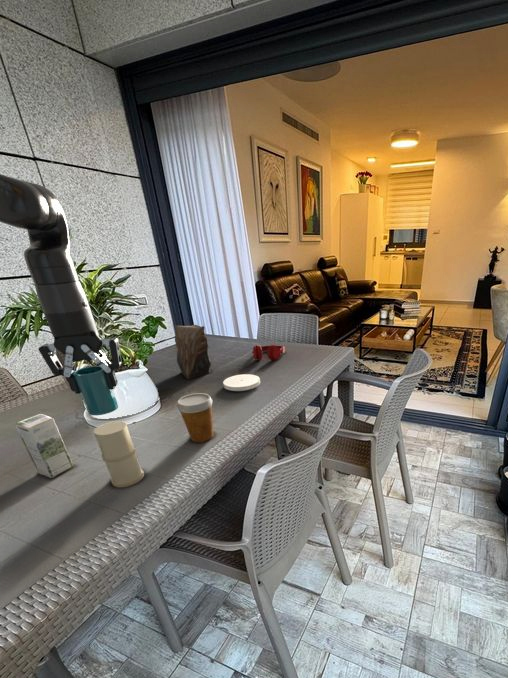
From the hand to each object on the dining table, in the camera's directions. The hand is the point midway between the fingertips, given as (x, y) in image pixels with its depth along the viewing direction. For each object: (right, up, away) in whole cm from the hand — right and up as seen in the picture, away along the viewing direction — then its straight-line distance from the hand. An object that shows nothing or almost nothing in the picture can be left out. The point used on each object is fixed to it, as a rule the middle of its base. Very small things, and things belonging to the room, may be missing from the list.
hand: (96, 390), depth 75 cm
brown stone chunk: (-7, +15, +78) cm, 79 cm away
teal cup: (0, -4, +2) cm, 5 cm away
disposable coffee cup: (+13, -11, +28) cm, 33 cm away
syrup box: (-20, -19, +15) cm, 31 cm away
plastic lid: (+17, +8, +63) cm, 65 cm away
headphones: (+23, +27, +98) cm, 104 cm away
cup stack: (+1, -20, +11) cm, 23 cm away
